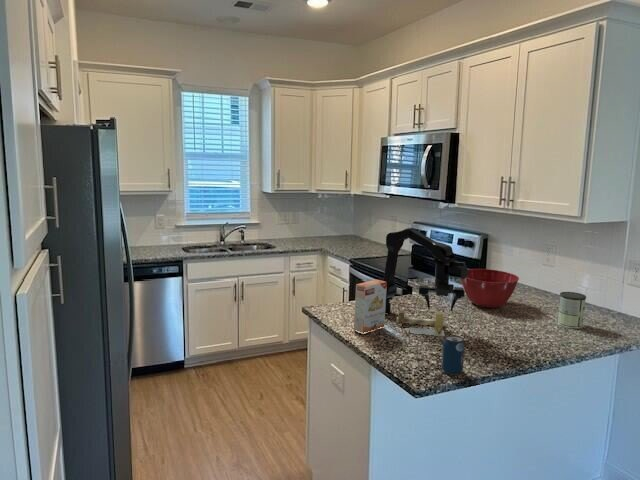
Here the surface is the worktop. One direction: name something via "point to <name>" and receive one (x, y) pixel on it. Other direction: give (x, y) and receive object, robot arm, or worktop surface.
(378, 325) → the cracker box
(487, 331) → the worktop surface
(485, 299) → the mixing bowl
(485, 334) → the worktop surface
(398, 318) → the trammel beam
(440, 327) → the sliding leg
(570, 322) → the coffee can
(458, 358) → the soda can
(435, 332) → the bolt plate
